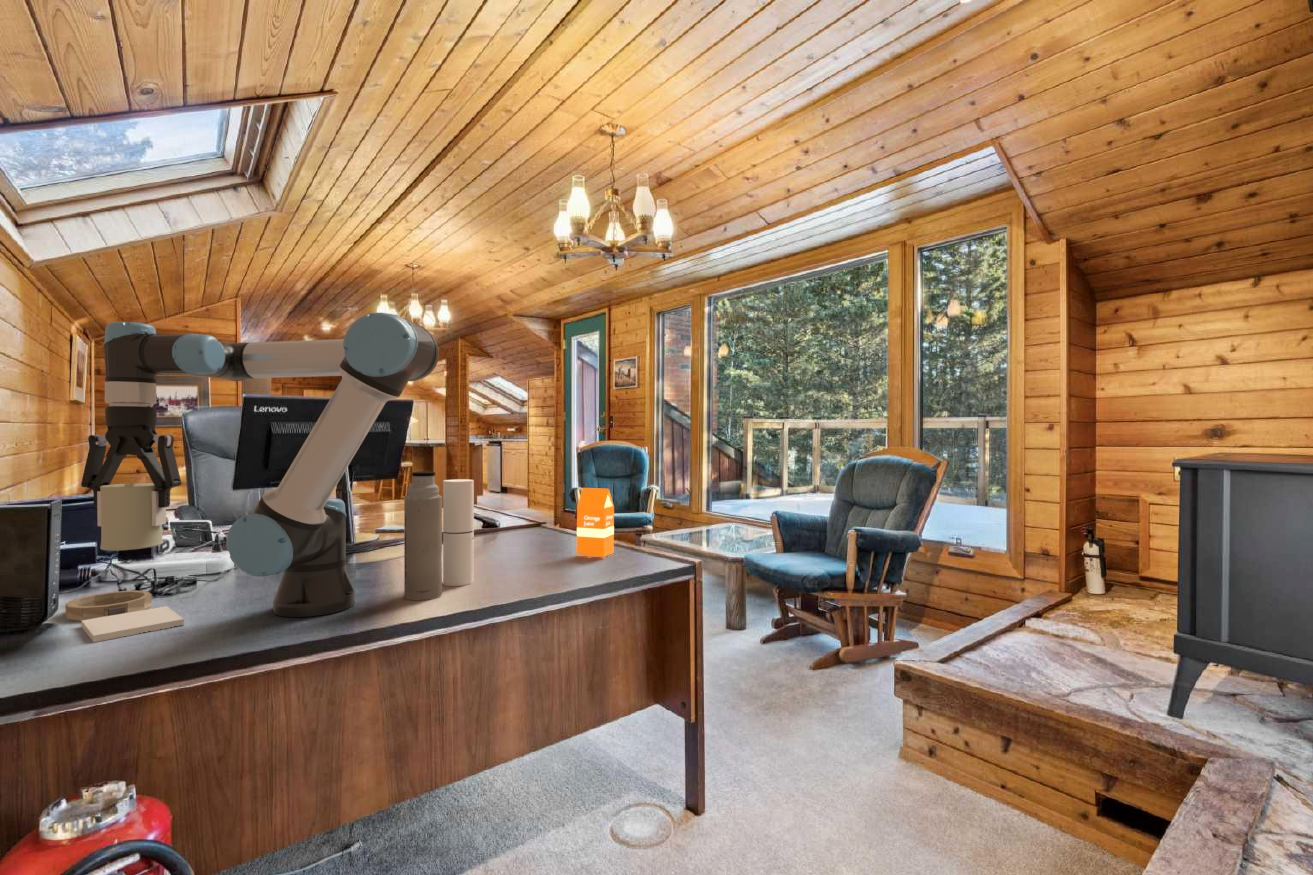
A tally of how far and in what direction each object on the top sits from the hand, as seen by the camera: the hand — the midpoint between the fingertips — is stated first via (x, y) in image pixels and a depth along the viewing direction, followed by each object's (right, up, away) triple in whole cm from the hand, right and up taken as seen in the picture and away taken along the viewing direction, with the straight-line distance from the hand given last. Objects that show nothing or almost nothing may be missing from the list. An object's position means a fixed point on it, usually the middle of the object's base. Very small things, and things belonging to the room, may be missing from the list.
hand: (132, 524), depth 121 cm
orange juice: (+81, -19, +70) cm, 109 cm away
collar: (-13, -19, +10) cm, 25 cm away
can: (0, -4, 0) cm, 4 cm away
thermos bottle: (+47, -19, +23) cm, 55 cm away
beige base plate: (0, -19, 0) cm, 19 cm away
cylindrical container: (+51, -19, +36) cm, 65 cm away
